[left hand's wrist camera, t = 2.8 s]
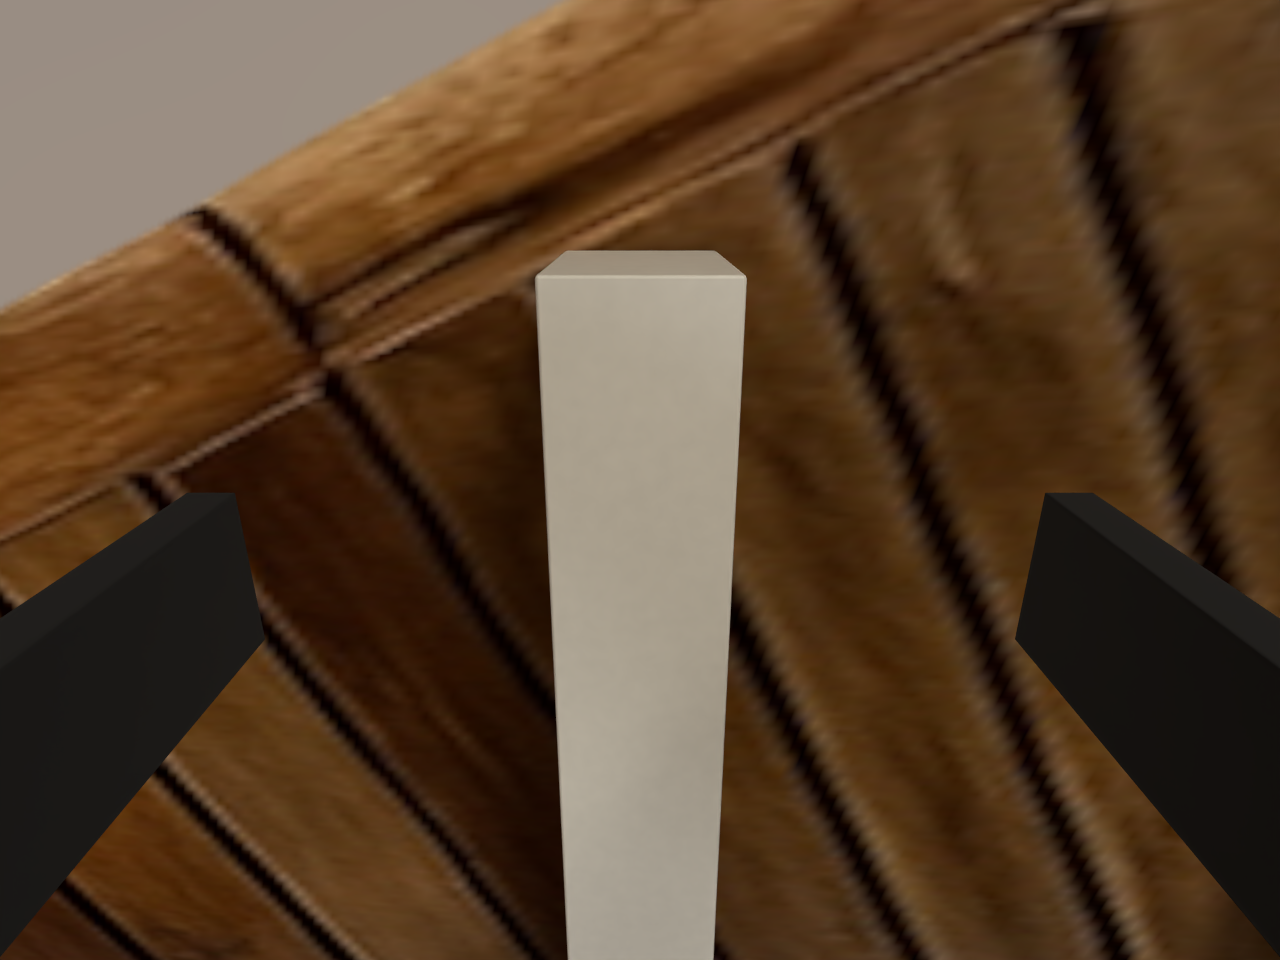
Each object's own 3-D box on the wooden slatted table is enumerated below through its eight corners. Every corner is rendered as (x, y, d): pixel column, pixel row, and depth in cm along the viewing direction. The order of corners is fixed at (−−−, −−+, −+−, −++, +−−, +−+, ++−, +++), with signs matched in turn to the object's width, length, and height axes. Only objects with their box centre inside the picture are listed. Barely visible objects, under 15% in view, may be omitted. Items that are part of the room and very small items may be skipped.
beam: (564, 250, 25) (534, 274, 18) (716, 250, 25) (747, 275, 18) (589, 974, 37) (577, 1161, 30) (691, 975, 37) (703, 1161, 30)
